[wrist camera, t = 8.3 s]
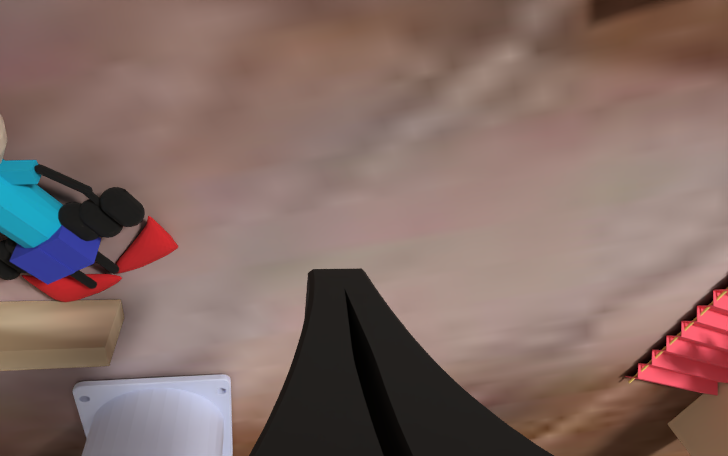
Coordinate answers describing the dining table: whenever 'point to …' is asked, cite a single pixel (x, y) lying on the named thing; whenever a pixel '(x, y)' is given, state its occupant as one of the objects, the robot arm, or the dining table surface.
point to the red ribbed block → (697, 377)
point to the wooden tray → (58, 333)
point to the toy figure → (67, 231)
